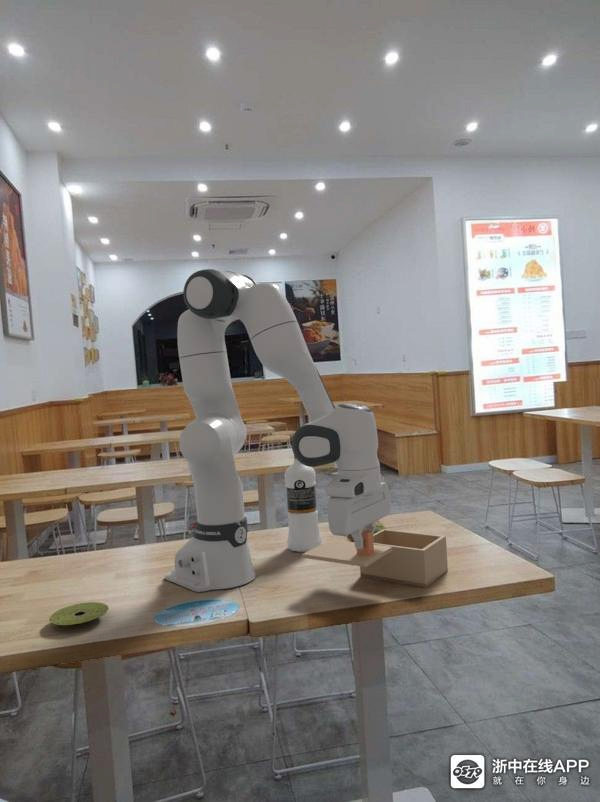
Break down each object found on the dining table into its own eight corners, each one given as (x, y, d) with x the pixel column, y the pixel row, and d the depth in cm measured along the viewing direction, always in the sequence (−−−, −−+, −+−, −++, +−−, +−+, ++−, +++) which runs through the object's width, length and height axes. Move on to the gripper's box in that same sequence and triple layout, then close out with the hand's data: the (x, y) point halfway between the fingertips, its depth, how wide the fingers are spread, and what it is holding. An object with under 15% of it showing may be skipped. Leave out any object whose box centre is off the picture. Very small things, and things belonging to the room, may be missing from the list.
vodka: (324, 542, 162) (317, 435, 161) (318, 553, 153) (311, 439, 152) (291, 543, 164) (284, 436, 163) (284, 553, 155) (276, 440, 154)
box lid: (302, 557, 126) (300, 533, 126) (331, 543, 135) (330, 520, 135) (365, 566, 117) (363, 540, 116) (392, 550, 126) (390, 526, 126)
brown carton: (360, 576, 134) (358, 542, 133) (385, 561, 143) (383, 528, 143) (426, 587, 124) (424, 550, 124) (447, 570, 134) (445, 536, 134)
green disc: (43, 638, 112) (42, 627, 112) (56, 615, 123) (56, 605, 123) (105, 629, 114) (104, 619, 114) (112, 607, 125) (111, 598, 125)
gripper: (370, 471, 133) (375, 531, 133) (320, 489, 116) (325, 558, 117) (395, 472, 129) (400, 534, 130) (347, 491, 113) (352, 562, 113)
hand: (364, 545), depth 123 cm, fingers closed on box lid
